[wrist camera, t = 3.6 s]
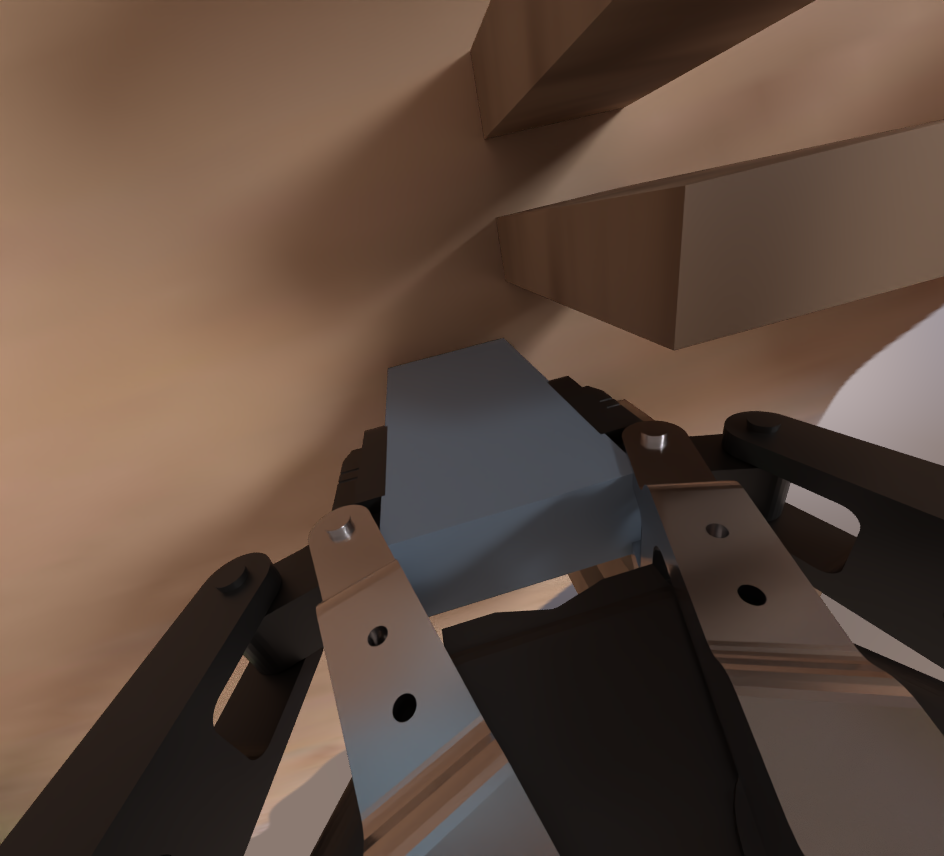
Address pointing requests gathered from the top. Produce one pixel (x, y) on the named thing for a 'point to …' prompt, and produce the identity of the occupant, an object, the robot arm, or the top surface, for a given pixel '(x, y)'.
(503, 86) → the domino
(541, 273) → the domino
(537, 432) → the domino
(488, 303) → the top surface
